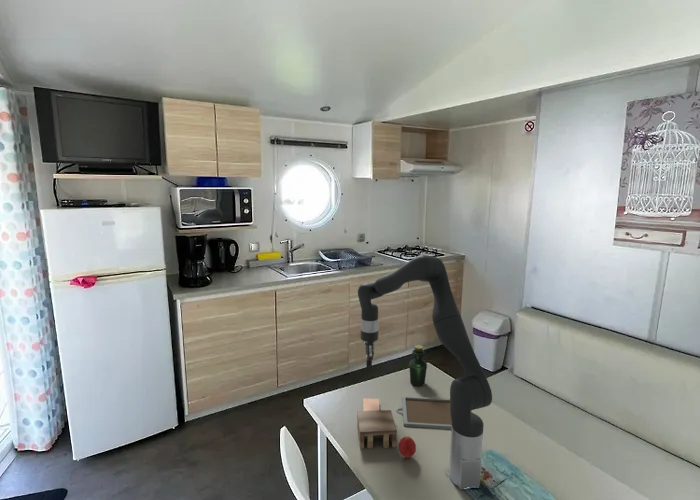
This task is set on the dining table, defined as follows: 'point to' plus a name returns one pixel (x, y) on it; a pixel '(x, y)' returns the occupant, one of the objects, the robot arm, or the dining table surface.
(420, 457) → the dining table surface
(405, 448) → the onion
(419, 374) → the potion bottle
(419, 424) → the grey framed board
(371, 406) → the tile
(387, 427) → the cubby
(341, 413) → the dining table surface
